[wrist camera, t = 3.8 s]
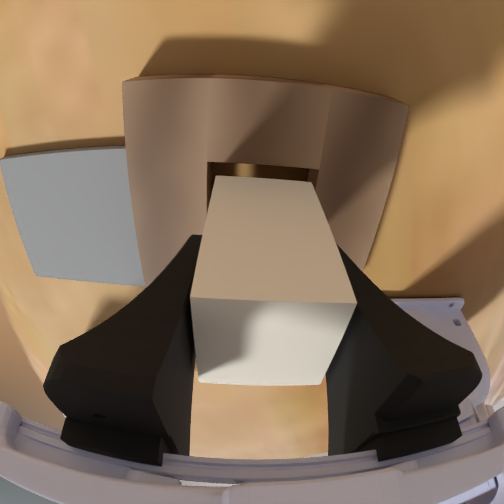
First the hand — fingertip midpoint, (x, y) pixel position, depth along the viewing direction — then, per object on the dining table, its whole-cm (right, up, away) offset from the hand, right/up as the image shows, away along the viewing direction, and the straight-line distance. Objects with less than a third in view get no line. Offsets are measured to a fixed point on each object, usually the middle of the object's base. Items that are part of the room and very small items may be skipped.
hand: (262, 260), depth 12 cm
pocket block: (0, +3, +4) cm, 5 cm away
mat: (-11, +2, +5) cm, 12 cm away
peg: (0, +2, +2) cm, 3 cm away
